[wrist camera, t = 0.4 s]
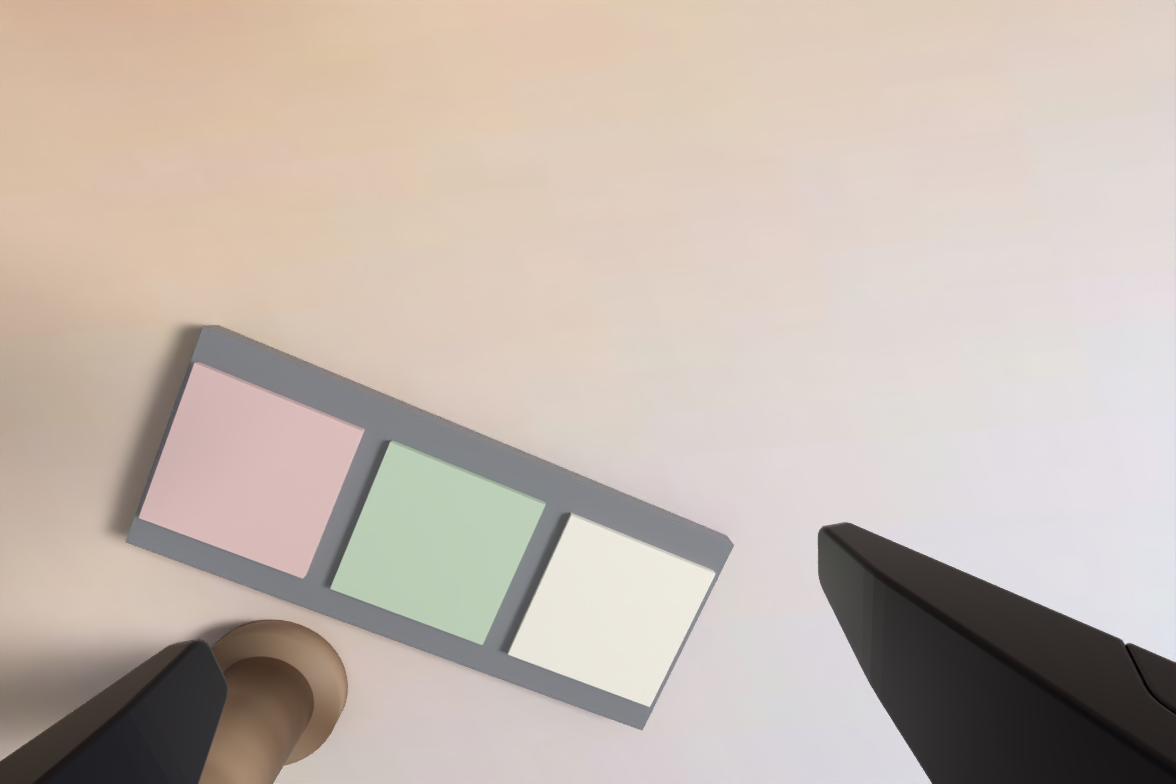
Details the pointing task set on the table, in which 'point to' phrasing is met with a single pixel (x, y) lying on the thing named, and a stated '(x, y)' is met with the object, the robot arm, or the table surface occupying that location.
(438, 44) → the table surface
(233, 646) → the brown wooden peg
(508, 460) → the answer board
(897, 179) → the table surface
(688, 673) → the table surface
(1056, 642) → the robot arm
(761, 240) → the table surface
